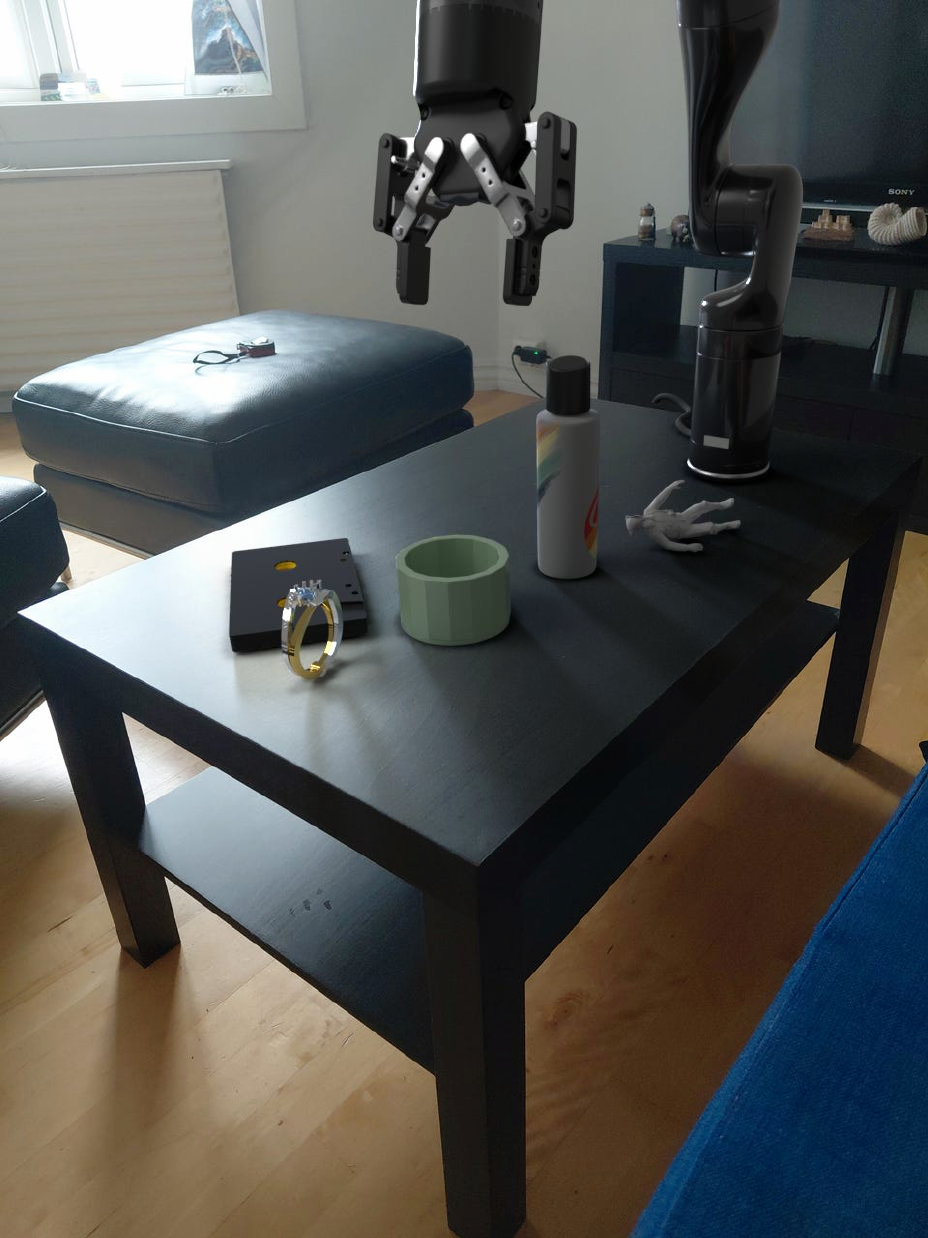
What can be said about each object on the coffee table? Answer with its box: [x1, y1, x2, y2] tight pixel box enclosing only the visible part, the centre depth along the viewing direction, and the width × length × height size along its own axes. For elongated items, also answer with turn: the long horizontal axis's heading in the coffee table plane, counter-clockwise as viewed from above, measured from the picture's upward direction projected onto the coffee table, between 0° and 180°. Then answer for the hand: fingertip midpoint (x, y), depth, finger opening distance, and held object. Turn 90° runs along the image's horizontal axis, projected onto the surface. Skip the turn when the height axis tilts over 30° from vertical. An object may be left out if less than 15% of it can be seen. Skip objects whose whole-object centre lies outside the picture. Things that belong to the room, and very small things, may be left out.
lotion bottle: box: [536, 354, 601, 580], centre depth 87 cm, size 6×6×20 cm
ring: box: [281, 580, 343, 680], centre depth 74 cm, size 7×3×8 cm, turn 151°
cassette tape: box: [228, 537, 369, 653], centre depth 87 cm, size 18×12×2 cm, turn 12°
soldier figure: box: [624, 479, 742, 553], centre depth 95 cm, size 8×5×12 cm
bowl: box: [394, 533, 512, 647], centre depth 82 cm, size 10×10×6 cm
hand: (462, 304), depth 61 cm, fingers open, 8 cm apart
